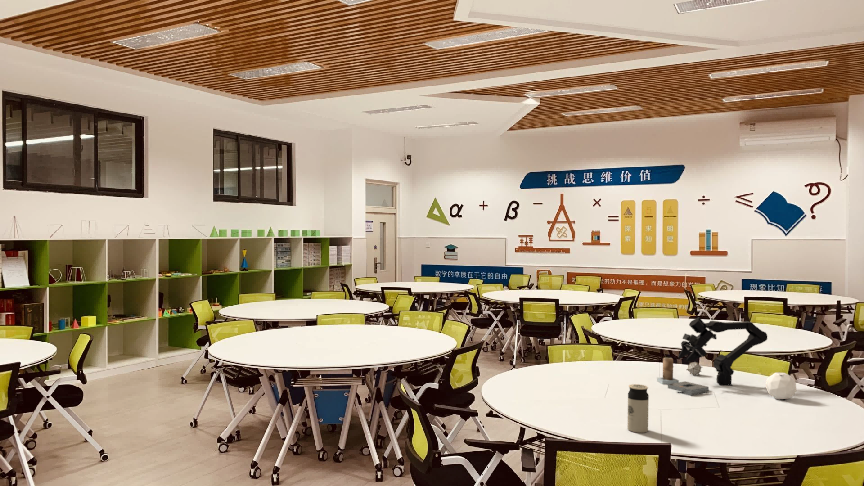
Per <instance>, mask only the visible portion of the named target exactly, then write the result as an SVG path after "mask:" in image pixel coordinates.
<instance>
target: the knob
mask: <svg viewBox="0 0 864 486" xmlns="http://www.w3.org/2000/svg"><path fill="white" fill-rule="evenodd" d="M662 378H663V380H673V378H674V359H673V358H672V357H663V358H662Z"/></svg>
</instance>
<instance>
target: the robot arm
mask: <svg viewBox="0 0 864 486" xmlns="http://www.w3.org/2000/svg"><path fill="white" fill-rule="evenodd" d="M688 325H689V327H690V328H691V329H692V330H693V331H694V332H695V333H696V334H698V335H695V334H693V333H692V334H689V333H688V334H687V333H684V334H683V336H682V338H681V339H683V340H682V341H681V342H680V345H681V350H680V351H679V355H678V356H677V358H678V359H682V358H684V357H685V356H687V355H688V356H687V358H686V360H685V361H686V362H691V361H693V360H696V359H697V360H698V359H700V358H703V357H705V356H707V351H706V350H705V349H704V347H707V345H708V343H709V342H710V341H711V339H713V340H717V333H719V334H720V333H723V332H725V331H729V330H734V331H736V330H746V332H747V333H748V336H747V338H746V340H744V341H743V342H741V343H740V344H739V345H737V346H736V347H735V348H734V349H732V350H731V351H730V352H728V353H727V354H725V355H724V354H719V355H718V356H717V357H715V358H714V359H715V360H714V361H713V365H712V366H713V367H714V368H715V371H716V372H717V375H716V383H717V384H718V385H719V386H728V387H729V386H732V387H733V384H732V378H733V376H732V375H734V373H735V370H733V369H732V366H733V363H734V362H735V361H736V360H737V359H739V358H740V357H741V356H743V355H744V354H745V353H746V352H748V351H749V350H751V348H753V347H755V346H758V345H761V344H763V343H764V342H767V340H768V333H767V332H766V331H763V330H762V329H760V328H759V327H758V326H756V325H755V324H754V323H753V322H751V321H748V320H747V321H746V320H745V321H729V322H727V321H726V322H723V321H718V320H717V321H716V320H710V321H709V322H704V321H703V319H702V318H701V317H697V318H695V319H693V320H691V321H690V322H689V324H688ZM713 332H714V333H713Z"/></svg>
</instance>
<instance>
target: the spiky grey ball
mask: <svg viewBox="0 0 864 486" xmlns="http://www.w3.org/2000/svg"><path fill="white" fill-rule="evenodd" d="M686 371H688V372H689V375H693V377H694V376H696V375H698V376H700V372H701V373H702V366H701V365H700V362H696V361H694V362H689V364H688V365H687V369H686Z"/></svg>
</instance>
